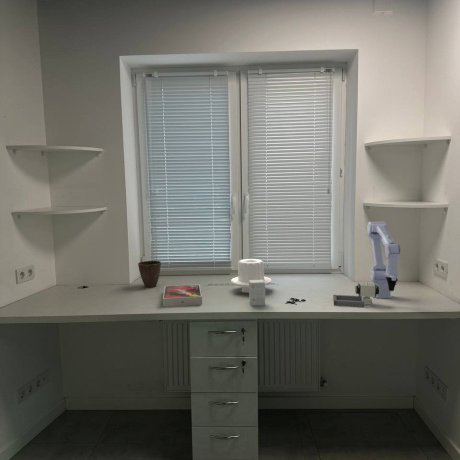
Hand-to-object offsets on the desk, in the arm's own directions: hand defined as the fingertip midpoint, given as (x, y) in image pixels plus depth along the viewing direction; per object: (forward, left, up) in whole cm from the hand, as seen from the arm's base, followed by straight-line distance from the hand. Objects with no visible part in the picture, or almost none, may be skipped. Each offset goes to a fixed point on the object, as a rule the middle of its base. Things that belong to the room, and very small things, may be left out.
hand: (391, 290), depth 208 cm
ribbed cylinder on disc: (+80, -16, -8) cm, 82 cm away
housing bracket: (+22, 0, -8) cm, 23 cm away
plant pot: (+148, -15, -8) cm, 148 cm away
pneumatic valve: (+13, 0, -8) cm, 15 cm away
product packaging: (+117, +8, -9) cm, 117 cm away
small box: (+72, +11, -8) cm, 73 cm away
